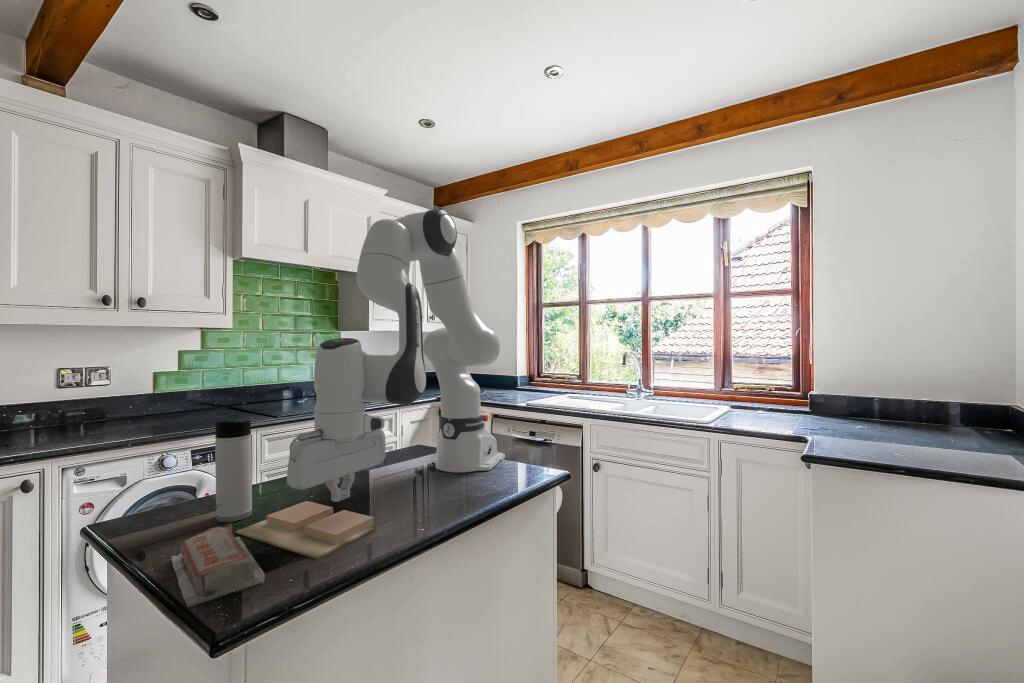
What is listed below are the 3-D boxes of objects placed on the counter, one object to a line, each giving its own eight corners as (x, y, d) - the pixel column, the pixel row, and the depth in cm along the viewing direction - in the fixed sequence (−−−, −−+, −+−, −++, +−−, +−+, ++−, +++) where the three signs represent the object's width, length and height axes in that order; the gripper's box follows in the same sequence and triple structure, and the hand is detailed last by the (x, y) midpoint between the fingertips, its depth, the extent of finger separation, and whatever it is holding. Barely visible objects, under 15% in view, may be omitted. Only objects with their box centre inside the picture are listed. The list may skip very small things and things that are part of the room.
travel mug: (209, 524, 91) (208, 422, 90) (224, 512, 97) (223, 416, 97) (243, 522, 92) (242, 421, 91) (256, 510, 98) (255, 415, 98)
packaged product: (267, 553, 69) (185, 576, 63) (267, 585, 69) (186, 612, 63) (239, 518, 83) (170, 533, 76) (239, 545, 83) (170, 563, 76)
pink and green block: (343, 509, 93) (304, 526, 85) (373, 517, 89) (335, 535, 81) (343, 517, 93) (304, 535, 85) (373, 525, 89) (335, 544, 81)
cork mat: (297, 509, 98) (297, 508, 98) (374, 530, 88) (374, 527, 88) (235, 533, 87) (235, 531, 87) (316, 559, 76) (316, 556, 76)
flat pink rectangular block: (306, 500, 98) (266, 515, 90) (333, 507, 94) (293, 523, 86) (306, 508, 98) (266, 523, 90) (333, 515, 94) (293, 531, 86)
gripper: (302, 437, 76) (303, 522, 76) (390, 418, 94) (391, 486, 94) (278, 434, 79) (278, 515, 79) (367, 415, 97) (368, 481, 97)
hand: (340, 499), depth 87 cm, fingers closed
